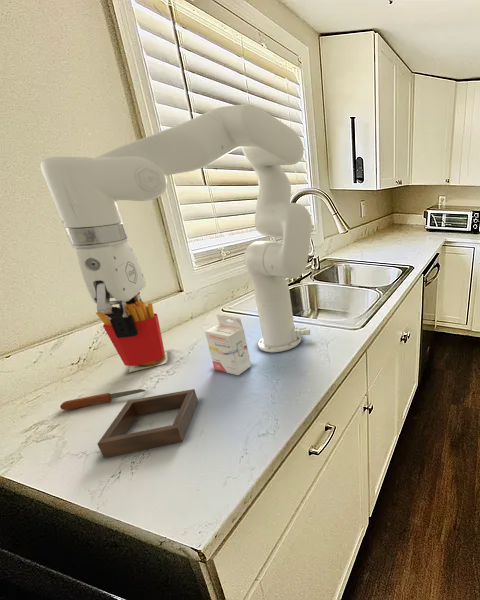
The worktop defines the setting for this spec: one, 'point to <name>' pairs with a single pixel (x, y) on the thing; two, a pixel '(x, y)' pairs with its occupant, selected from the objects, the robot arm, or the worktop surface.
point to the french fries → (138, 336)
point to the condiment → (149, 364)
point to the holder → (123, 443)
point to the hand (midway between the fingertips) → (133, 329)
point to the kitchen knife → (96, 399)
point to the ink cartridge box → (228, 345)
